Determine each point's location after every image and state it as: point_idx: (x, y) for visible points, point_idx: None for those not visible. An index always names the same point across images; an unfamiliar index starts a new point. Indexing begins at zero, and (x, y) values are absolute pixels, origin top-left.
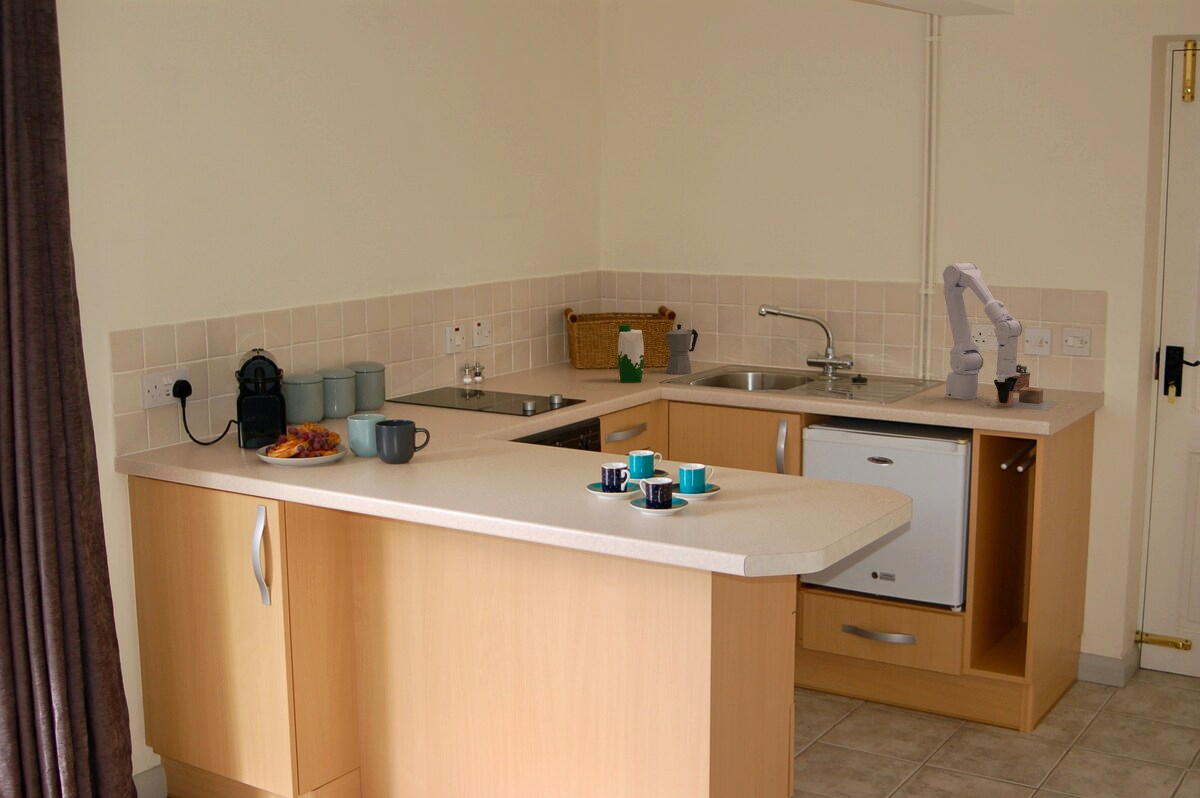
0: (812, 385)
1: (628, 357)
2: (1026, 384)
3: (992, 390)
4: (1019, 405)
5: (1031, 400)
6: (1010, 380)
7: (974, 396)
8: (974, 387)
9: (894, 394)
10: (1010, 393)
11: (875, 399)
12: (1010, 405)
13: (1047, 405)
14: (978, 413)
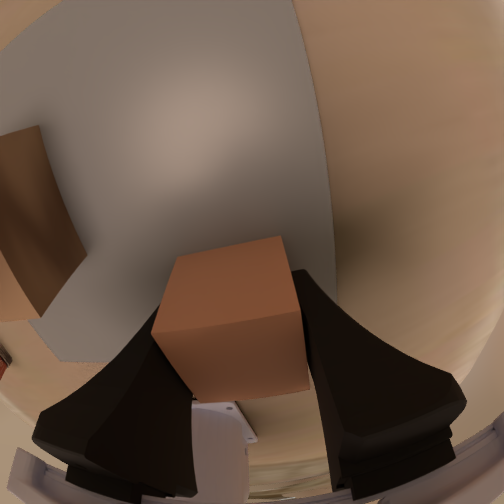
0: (257, 494)
1: None
2: None
3: (18, 385)
4: (199, 188)
5: (40, 181)
6: (140, 460)
7: (200, 422)
8: (201, 458)
9: (249, 473)
10: (298, 310)
11: (326, 465)
12: (262, 240)
13: (57, 41)
14: (460, 290)
